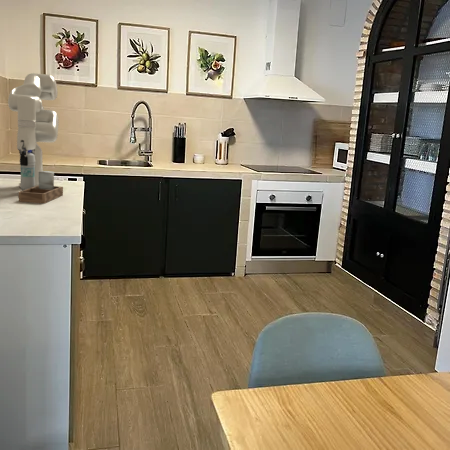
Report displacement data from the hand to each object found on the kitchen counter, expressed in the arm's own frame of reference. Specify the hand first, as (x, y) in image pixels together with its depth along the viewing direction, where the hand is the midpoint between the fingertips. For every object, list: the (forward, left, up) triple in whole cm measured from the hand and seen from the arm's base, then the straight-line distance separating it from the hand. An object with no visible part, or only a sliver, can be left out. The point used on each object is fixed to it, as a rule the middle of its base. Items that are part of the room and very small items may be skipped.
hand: (27, 164), depth 228 cm
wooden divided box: (+9, +10, -13) cm, 19 cm away
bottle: (0, 0, -13) cm, 13 cm away
